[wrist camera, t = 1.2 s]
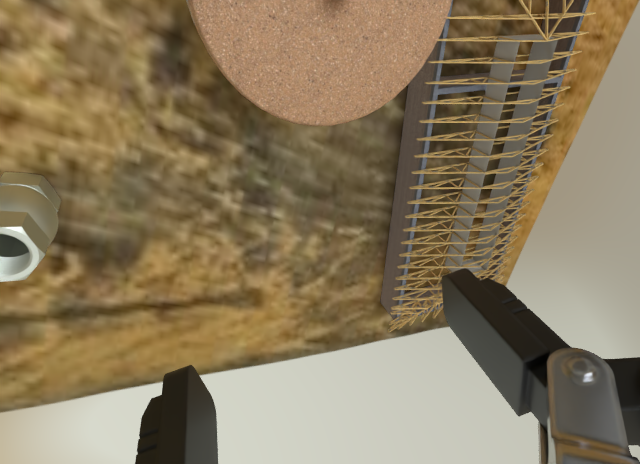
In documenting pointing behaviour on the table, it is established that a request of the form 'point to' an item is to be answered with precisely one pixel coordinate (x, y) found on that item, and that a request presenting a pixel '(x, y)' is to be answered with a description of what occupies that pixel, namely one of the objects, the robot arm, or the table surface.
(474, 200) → the rafter model
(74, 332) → the table surface
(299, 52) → the lidded bowl
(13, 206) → the valve
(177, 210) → the table surface
